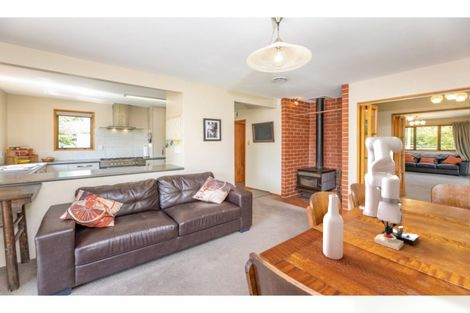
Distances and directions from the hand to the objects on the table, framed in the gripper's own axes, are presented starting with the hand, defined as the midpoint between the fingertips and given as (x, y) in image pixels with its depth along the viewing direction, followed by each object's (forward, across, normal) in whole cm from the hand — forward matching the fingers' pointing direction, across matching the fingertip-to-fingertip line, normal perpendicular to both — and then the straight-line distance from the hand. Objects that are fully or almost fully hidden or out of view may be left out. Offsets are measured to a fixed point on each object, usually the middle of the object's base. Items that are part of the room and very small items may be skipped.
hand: (388, 233), depth 109 cm
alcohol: (+6, +13, +33) cm, 36 cm away
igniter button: (+2, 0, 0) cm, 2 cm away
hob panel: (+5, -2, -12) cm, 13 cm away
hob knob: (+2, -2, -12) cm, 12 cm away
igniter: (+6, 0, 0) cm, 6 cm away
